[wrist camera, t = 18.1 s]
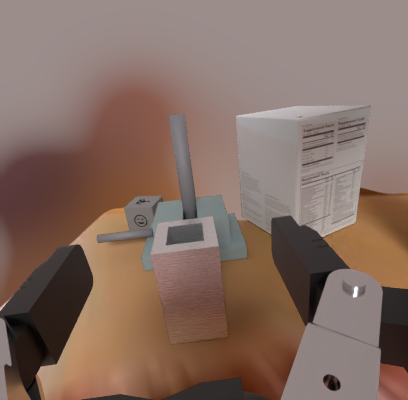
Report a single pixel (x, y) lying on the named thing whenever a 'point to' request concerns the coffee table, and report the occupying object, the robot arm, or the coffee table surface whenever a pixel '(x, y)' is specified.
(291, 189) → the supplement box
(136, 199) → the dice cube
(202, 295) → the steel sleeve
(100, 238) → the vise
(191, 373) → the coffee table surface
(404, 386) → the coffee table surface
